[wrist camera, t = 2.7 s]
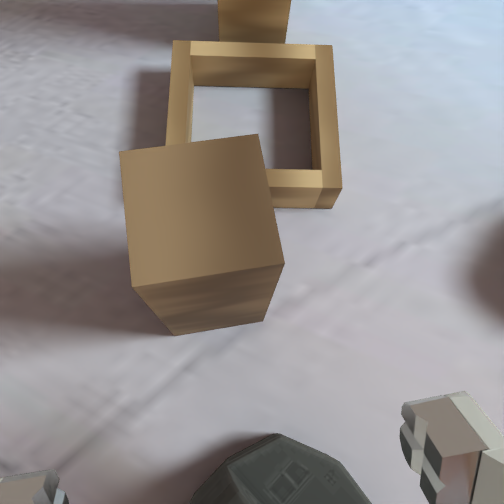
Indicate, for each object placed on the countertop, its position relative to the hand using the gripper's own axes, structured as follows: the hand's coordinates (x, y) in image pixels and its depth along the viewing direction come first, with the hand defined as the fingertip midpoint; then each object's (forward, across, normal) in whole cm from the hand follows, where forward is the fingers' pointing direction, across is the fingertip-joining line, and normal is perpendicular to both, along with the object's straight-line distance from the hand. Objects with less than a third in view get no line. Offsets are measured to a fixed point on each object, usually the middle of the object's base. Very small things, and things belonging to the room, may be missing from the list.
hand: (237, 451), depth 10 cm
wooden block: (+13, 0, +3) cm, 13 cm away
